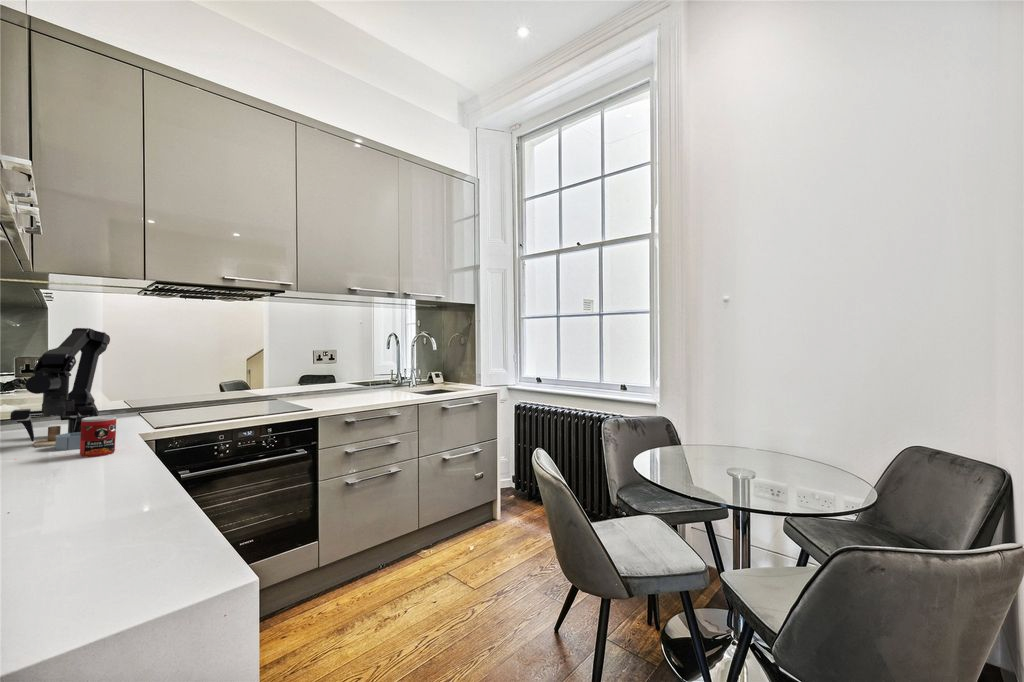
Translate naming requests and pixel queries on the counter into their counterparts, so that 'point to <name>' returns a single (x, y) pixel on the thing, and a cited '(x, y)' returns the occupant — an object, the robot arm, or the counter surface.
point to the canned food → (97, 436)
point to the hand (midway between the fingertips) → (53, 439)
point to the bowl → (68, 441)
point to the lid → (49, 437)
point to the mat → (41, 446)
